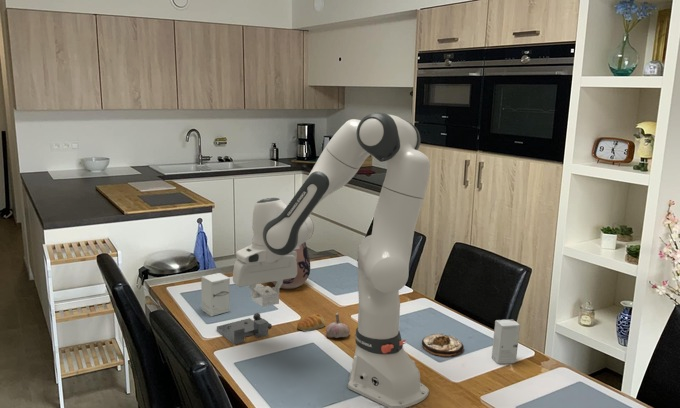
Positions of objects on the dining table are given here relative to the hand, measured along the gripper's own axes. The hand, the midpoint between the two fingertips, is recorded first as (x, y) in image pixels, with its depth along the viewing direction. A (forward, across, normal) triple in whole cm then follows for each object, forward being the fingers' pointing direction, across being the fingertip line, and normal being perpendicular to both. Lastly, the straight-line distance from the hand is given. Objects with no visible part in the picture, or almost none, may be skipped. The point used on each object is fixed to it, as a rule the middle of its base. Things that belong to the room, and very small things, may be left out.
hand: (265, 295), depth 165 cm
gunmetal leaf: (+16, +3, -11) cm, 20 cm away
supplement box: (+16, +3, -31) cm, 35 cm away
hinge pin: (+16, -6, -13) cm, 21 cm away
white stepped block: (+2, 0, -2) cm, 3 cm away
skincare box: (+15, -56, +46) cm, 74 cm away
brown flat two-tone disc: (+15, -46, +31) cm, 58 cm away
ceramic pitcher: (+16, -30, -42) cm, 54 cm away
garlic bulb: (+16, -22, +7) cm, 28 cm away
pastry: (+16, -19, -3) cm, 25 cm away
